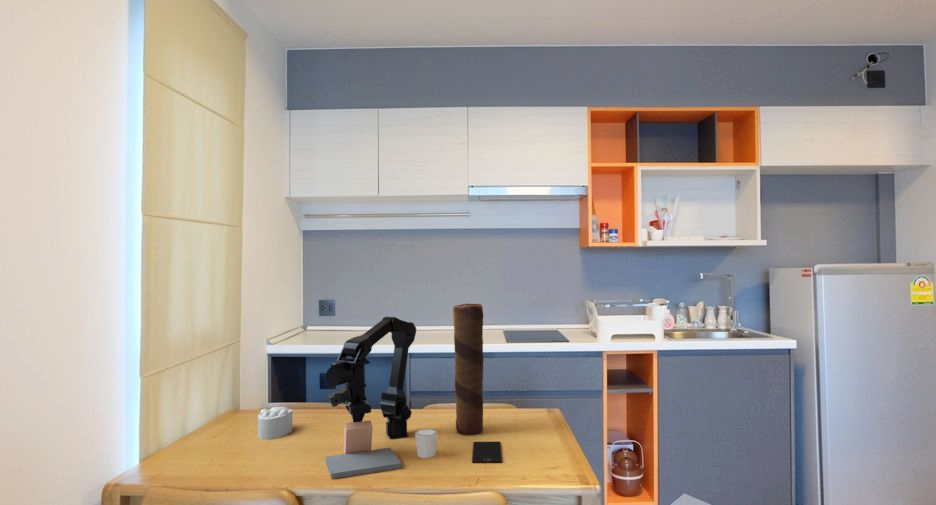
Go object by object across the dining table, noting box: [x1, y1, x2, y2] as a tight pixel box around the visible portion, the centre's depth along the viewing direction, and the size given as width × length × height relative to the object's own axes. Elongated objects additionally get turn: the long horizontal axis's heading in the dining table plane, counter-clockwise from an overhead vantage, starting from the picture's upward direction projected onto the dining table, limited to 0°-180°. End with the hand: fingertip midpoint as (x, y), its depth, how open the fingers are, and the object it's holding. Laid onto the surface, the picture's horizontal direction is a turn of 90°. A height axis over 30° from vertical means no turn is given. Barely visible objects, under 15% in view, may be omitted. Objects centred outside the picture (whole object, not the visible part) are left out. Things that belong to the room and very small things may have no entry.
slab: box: [343, 420, 373, 454], centre depth 170 cm, size 8×4×10 cm, turn 111°
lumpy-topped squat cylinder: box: [257, 406, 293, 441], centre depth 194 cm, size 10×13×9 cm
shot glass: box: [414, 428, 438, 459], centre depth 170 cm, size 7×7×7 cm
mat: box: [325, 447, 402, 480], centre depth 162 cm, size 20×14×2 cm
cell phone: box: [471, 441, 503, 464], centre depth 171 cm, size 9×18×1 cm, turn 178°
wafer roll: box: [452, 303, 484, 436], centre depth 193 cm, size 10×11×45 cm
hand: (356, 429), depth 172 cm, fingers closed
